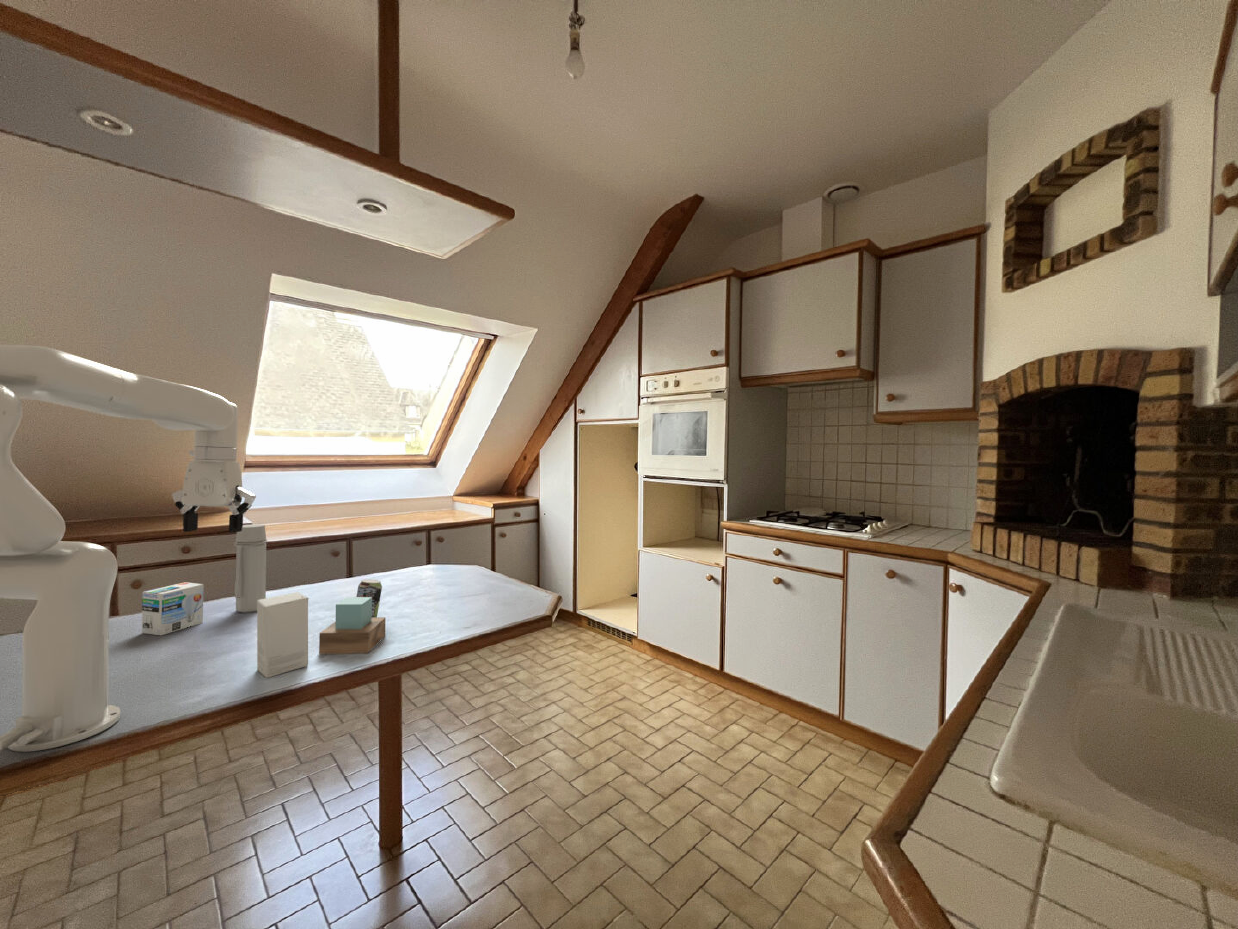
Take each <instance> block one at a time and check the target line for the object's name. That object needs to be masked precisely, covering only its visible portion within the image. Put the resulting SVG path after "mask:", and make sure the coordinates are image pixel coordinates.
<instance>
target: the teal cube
mask: <svg viewBox="0 0 1238 929" xmlns="http://www.w3.org/2000/svg"><path fill="white" fill-rule="evenodd" d="M371 621H372V597H356V596H354V597H353V596H347V597H345V598H344V599H342V600H340V601H339V602H337V603H336V604H335V621H334V622H335V629H362V628H363V627H364V626H366V625H367V624H368V623H369V622H371Z"/></svg>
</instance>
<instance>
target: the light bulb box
mask: <svg viewBox="0 0 1238 929" xmlns="http://www.w3.org/2000/svg"><path fill="white" fill-rule="evenodd" d="M204 586H205V585H204V583H195V582H186V581H184V582H181V583H175V584H171V585H167V586H163V587H158V588H154V589H150V590H145V591H142V600H141V601H142V606H141V634H146V635H147V634H148V635H154V636H164V635H168V634H170V633H175V632H178V631H180V630H184V629H187V627H188V628H190V626H191V627H194V626H197V625H200V624H203V620H204V618H203V617H204V590H205V589H204V588H205V587H204Z"/></svg>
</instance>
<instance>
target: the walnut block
mask: <svg viewBox="0 0 1238 929" xmlns="http://www.w3.org/2000/svg"><path fill="white" fill-rule="evenodd" d="M335 622H336V621H334V622H333V623H331V624H330V625H329V626H327V627H326V628H325V629H324V630H321V631H320V632H319V636H318V638H319V642H318V644H319V645H318V654H319V655H351V654H350V653H366V654H369V653H370V652H371V651H372V650H373V649H374V648H375V647H376V646H377V645H378V644H379V643H380V642H381V641H382V640H383V639H384V638H385V637H386V617H381V616H380V617H378V616H377V617H372V621H371V622H369V623H368V624H367V625H366V626H364V627H363V628H362V629H335ZM384 636H385V637H384ZM383 637H384V638H383ZM382 638H383V639H382ZM381 639H382V640H381ZM380 640H381V641H380ZM379 641H380V642H379ZM378 642H379V643H378ZM377 643H378V644H377ZM376 644H377V645H376ZM375 645H376V646H375ZM374 646H375V647H374ZM373 647H374V648H373ZM372 648H373V649H372ZM371 649H372V650H371ZM370 650H371V651H370ZM369 651H370V652H369ZM368 652H369V653H368ZM346 653H347V654H346Z"/></svg>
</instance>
